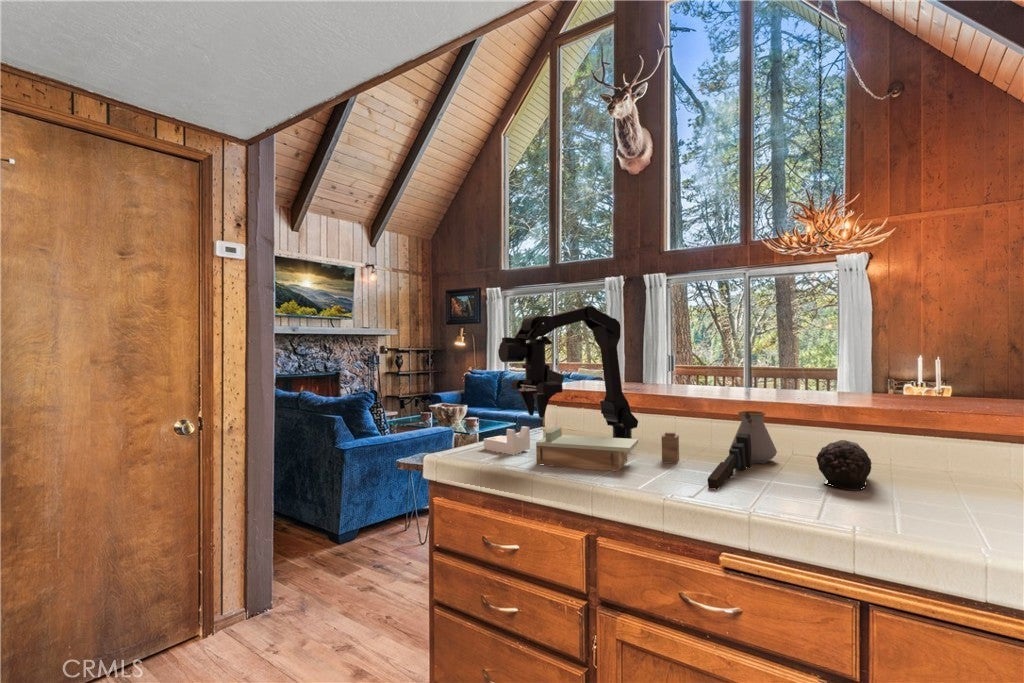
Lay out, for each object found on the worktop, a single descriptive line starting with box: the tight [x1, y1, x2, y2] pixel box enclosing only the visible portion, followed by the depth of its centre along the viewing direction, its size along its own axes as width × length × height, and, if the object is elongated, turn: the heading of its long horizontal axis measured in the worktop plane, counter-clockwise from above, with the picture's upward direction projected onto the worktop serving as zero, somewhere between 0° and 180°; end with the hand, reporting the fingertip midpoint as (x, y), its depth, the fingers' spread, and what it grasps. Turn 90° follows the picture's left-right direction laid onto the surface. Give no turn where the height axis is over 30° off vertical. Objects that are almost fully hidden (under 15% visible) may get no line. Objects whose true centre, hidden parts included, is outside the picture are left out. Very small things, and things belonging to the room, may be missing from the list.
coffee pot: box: [729, 410, 778, 464], centre depth 137 cm, size 21×12×15 cm, turn 151°
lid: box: [535, 426, 639, 453], centre depth 142 cm, size 12×25×3 cm, turn 67°
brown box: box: [535, 446, 628, 472], centre depth 142 cm, size 13×22×5 cm, turn 67°
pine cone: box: [815, 439, 873, 491], centre depth 120 cm, size 10×18×10 cm, turn 147°
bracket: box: [483, 426, 531, 455], centre depth 161 cm, size 13×7×8 cm, turn 44°
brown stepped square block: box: [661, 431, 680, 464], centre depth 142 cm, size 4×4×8 cm
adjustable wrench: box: [707, 433, 752, 490], centre depth 126 cm, size 8×3×25 cm
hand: (536, 416), depth 148 cm, fingers open, 5 cm apart
